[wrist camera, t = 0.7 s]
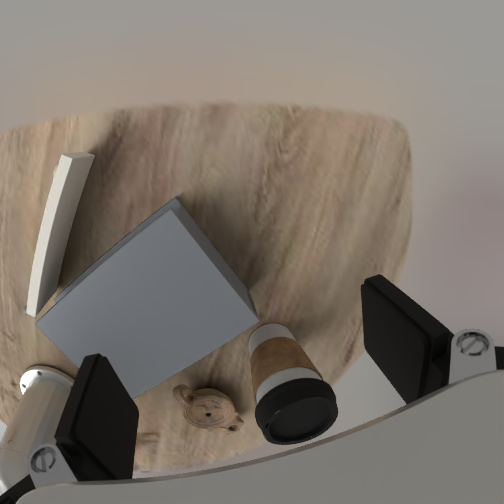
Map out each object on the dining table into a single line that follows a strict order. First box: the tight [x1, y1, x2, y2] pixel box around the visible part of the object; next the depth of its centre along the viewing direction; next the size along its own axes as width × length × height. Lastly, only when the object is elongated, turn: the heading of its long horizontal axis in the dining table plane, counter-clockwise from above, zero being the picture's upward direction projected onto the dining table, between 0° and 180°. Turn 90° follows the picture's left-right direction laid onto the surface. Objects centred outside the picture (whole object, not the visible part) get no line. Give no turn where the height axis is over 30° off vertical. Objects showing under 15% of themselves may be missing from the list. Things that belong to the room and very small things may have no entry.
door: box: [22, 152, 95, 317], centre depth 28 cm, size 18×2×7 cm, turn 154°
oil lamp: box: [173, 384, 244, 434], centre depth 41 cm, size 13×8×5 cm, turn 33°
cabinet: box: [35, 197, 260, 399], centre depth 33 cm, size 20×14×7 cm
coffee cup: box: [248, 323, 338, 445], centre depth 34 cm, size 8×8×15 cm
